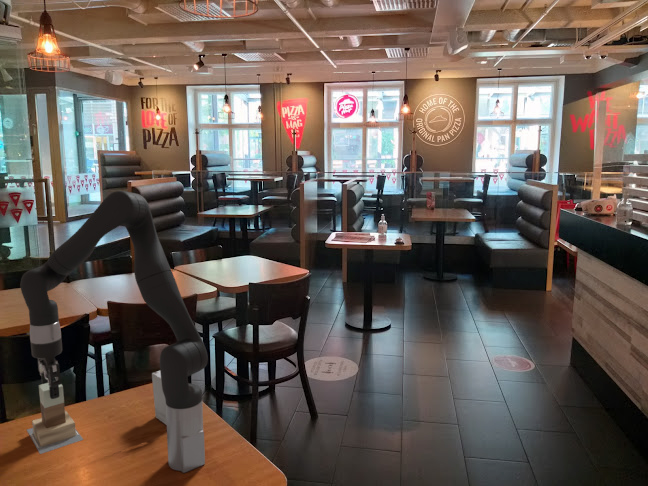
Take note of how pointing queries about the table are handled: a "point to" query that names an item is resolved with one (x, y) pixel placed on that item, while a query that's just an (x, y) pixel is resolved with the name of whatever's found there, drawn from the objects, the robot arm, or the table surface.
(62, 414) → the block
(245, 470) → the table surface
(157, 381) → the skincare box
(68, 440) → the plate
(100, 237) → the robot arm
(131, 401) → the table surface
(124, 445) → the table surface
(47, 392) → the block
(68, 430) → the pedestal
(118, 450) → the table surface
